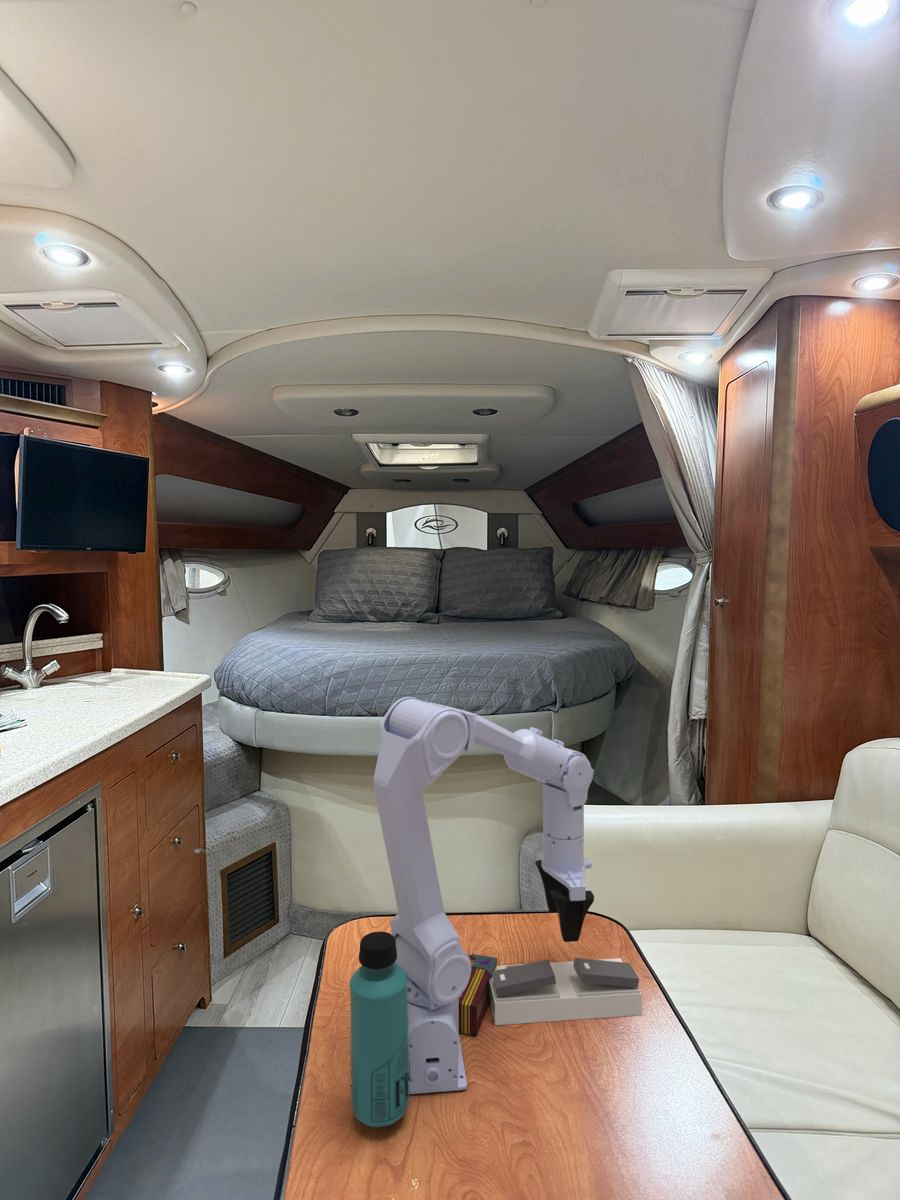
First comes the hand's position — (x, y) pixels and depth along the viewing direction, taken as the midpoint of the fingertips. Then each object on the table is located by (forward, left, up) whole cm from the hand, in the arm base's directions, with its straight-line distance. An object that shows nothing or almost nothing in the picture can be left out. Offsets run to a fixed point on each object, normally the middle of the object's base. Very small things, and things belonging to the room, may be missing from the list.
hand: (562, 925), depth 93 cm
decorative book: (-1, +19, -10) cm, 21 cm away
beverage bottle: (-20, +26, -9) cm, 34 cm away
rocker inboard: (-5, +7, -6) cm, 10 cm away
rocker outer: (-5, -4, -6) cm, 9 cm away
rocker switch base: (-3, +1, -9) cm, 10 cm away
